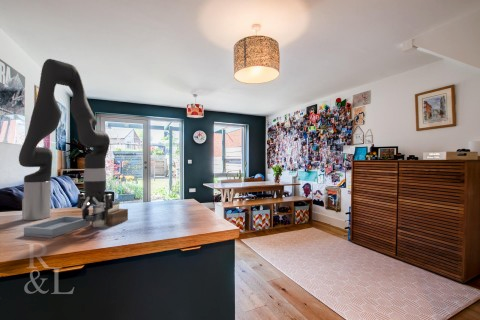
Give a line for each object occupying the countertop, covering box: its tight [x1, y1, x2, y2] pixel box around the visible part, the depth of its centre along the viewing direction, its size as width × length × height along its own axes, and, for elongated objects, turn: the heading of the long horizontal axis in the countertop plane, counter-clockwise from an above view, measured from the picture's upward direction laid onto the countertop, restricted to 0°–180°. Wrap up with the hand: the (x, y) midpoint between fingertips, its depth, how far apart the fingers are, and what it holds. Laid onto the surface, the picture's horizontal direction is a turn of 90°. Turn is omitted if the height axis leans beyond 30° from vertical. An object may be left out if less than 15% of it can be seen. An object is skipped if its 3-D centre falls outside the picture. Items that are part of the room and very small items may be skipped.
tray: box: [23, 215, 91, 239], centre depth 86 cm, size 12×16×3 cm
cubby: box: [91, 208, 129, 227], centre depth 97 cm, size 10×10×5 cm
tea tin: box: [86, 201, 120, 228], centre depth 93 cm, size 5×13×9 cm, turn 170°
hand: (95, 219), depth 89 cm, fingers open, 8 cm apart
